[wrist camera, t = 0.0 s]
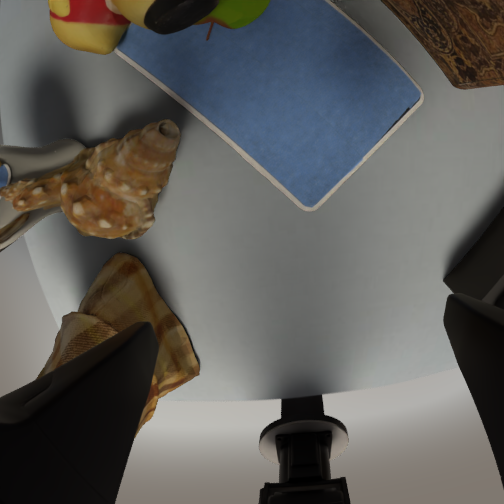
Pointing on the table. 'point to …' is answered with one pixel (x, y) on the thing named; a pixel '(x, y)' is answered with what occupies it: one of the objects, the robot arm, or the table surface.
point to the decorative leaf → (234, 13)
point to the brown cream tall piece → (122, 316)
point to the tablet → (284, 91)
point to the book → (459, 37)
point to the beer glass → (32, 184)
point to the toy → (120, 19)
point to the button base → (483, 267)
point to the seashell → (120, 182)
